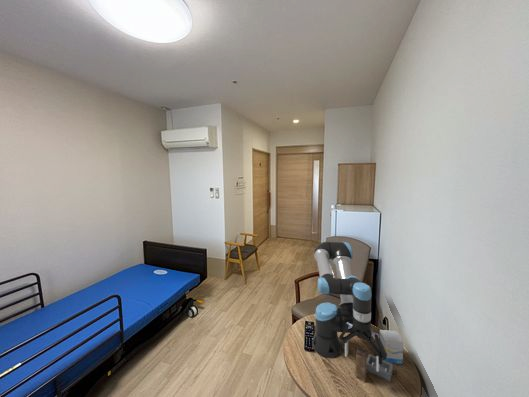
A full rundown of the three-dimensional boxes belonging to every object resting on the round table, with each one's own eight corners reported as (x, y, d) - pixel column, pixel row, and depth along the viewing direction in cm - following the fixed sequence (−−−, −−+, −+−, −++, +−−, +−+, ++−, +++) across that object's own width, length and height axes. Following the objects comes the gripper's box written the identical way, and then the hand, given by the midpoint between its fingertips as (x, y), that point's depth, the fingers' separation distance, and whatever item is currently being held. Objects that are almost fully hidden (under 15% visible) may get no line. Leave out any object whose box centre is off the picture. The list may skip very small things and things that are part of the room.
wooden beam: (356, 378, 98) (356, 352, 97) (358, 372, 101) (358, 347, 100) (364, 382, 96) (364, 355, 95) (366, 376, 99) (366, 350, 98)
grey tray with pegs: (365, 370, 102) (365, 363, 102) (368, 360, 108) (368, 353, 108) (390, 382, 96) (390, 375, 95) (392, 371, 101) (392, 364, 101)
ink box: (403, 364, 105) (403, 342, 104) (384, 362, 106) (384, 340, 105) (396, 351, 113) (396, 330, 112) (378, 349, 115) (379, 328, 114)
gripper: (332, 312, 101) (332, 354, 103) (392, 334, 86) (391, 382, 87) (337, 305, 107) (337, 344, 108) (394, 324, 92) (393, 370, 93)
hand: (361, 361), depth 98 cm, fingers open, 13 cm apart
